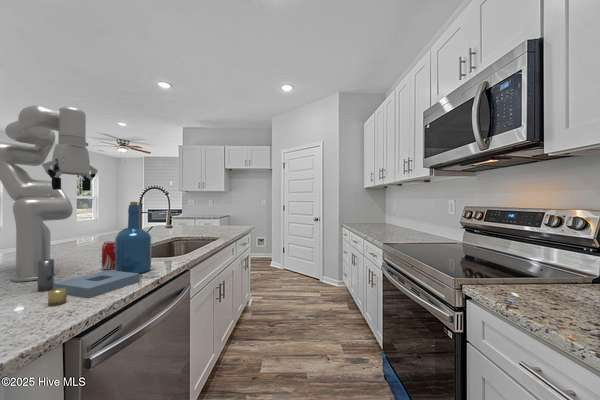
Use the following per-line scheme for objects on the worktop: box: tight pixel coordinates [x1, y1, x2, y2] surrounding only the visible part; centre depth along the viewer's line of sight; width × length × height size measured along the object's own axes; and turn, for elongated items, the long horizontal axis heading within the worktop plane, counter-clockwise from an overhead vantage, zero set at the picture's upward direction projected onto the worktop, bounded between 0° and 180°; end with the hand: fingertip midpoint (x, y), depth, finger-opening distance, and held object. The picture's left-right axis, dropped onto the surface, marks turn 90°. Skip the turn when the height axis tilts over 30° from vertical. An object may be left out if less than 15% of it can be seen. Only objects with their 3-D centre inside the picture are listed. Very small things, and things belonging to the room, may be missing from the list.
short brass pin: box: [47, 288, 67, 307], centre depth 78 cm, size 4×4×4 cm
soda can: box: [101, 240, 115, 271], centre depth 119 cm, size 7×7×12 cm
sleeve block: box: [54, 270, 141, 299], centre depth 94 cm, size 16×18×3 cm
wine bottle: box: [114, 201, 152, 275], centre depth 114 cm, size 14×13×30 cm
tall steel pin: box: [37, 258, 55, 293], centre depth 90 cm, size 4×4×10 cm
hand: (72, 190), depth 96 cm, fingers open, 9 cm apart
